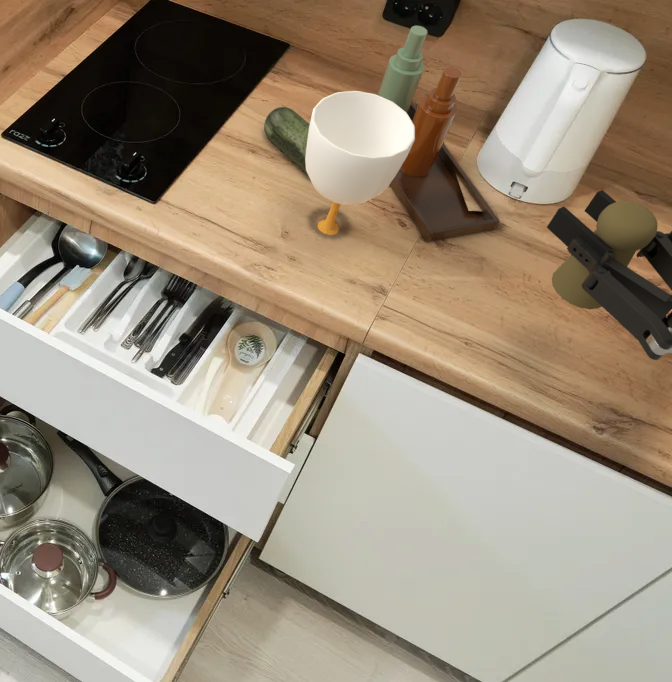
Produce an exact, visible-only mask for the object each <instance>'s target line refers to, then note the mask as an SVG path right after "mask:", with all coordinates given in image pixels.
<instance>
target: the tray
mask: <svg viewBox="0 0 672 682" xmlns="http://www.w3.org/2000/svg"><path fill="white" fill-rule="evenodd" d="M417 107H418V106H417V105H416V104H415V103H414V101H413V100H412V102H411V105H410V107H409V110H408V113H407V114H408V116H409V118H410V119H411V121H412V120H413V117H414V115H415V112H416V110H417ZM458 179H459V180H460V182H461V183H462V184H463V186H464V187H465V189H466V190H467V192H468V193H469V194H470V196H471V197H472V199H474V201H475V203H476V204H477V205H478V206H479V208H480V209H481V210H469V208H468V205H467V202H466V200H465V196H464V194H463V190H462V188H461V184H460V182H459V180H458ZM389 187H390V188H391V190H392V192H393V193H394V194H395V196H396V197H397V198H398V201H399V202H400V203H401V205H402V207H403V208H404V210H405V212H406V213H407V215H408V216H409V217H410V219H411V220H412V222H413V224H414V225H415V227H416V228H417V230H418V231H419V233H420V235H421V236H422V238H423V239H424V241H425V242H426V243H430V242H436V241H441V240H445V239H452V238H457V237H463V236H467V235H472V234H479V233H483V232H489V231H495V230H496V229H497V227H498V226H499V224H500V222H501V220H500V219H499V218H498V216H497V215H496V213H495V212H494V211H493V209H492V208H491V206H490V205H489V204H488V203H487V201H486V200H485V198H484V197H483V195H482V194H481V193H480V192H479V190H478V189H477V187H476V186H475V185H474V183H473V182H472V181H471V179H470V178H469V177H468V175H467V173H465V171H464V170H463V168H462V167H461V165H460V164H459V162H458V161H457V160H456V159H455V157H454V155H452V153H451V152H450V150H449V149H448V148H447V146H446V145H445V144H444V143H443V144H442V146H441V148H440V151H439V153H438V155H437V157H436V160H435V162H434V164H433V166H432V168H431V171H430V172H429V174H427V175H426V176H423V177H413V176H409V175H407V174H405V173H403V172H402V171H401V170H400V169H399V171H398V173H397V174H396V176H395V177H394V179H393V180H392V181H391V183H390V184H389Z"/></svg>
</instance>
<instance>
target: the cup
mask: <svg viewBox="0 0 672 682" xmlns="http://www.w3.org/2000/svg"><path fill="white" fill-rule="evenodd" d="M309 124H310V125H309V131H308V139H307V147H306V156H305V163H306V171H307V173H308V175H307V176H308V177H309V178H308V179H309V180H310V182H311V184H312V186H313V188H314V190H315V191H317V193H318V194H320V195H321V196H322V198H325V199H326V200H329V201H331V206H330V209H329V211H328V214H327V216H326V218H325V219H321V220H320V221H318V223H317V228H318V230H319V231H320V232H321V233H322V234H324V235H328V236H332V235H336V234H337V233H338V232H339V230H340V227H339V225H338V224H337V222H336V220H337V216H338V212H339V209H340V207H341V205H345V206H354V205H362V204H364V203H367V202H369V201H370V200H373V199H375V198H377V197H378V196H380V195H382V194H383V193H384V192H385V190H386V189H387V188H388V187H390V185H389V184H390V183H391V181H392V180H393V179H394V177H395V176H396V174H397V173H398V171H399V169H400V168H401V166H402V164H403V162H404V161H405V159H406V157H407V155H408V153H409V151H410V149H411V147H412V145H413V143H414V141H415V126H414V124H413V123H412V121H411V119H410V118H409V116H408V114H407V113H406V112H405V111H404V110H402V109H401V108H400V107H399V106H397V105H396V104H395V103H394V102H392V101H390V100H387V99H385V98H383V97H380V96H378V95H377V94H376V93H370V92H365V91H358V90H348V91H337V92H334V93H332V94H330V95H327V96H325V97H323V98H321V100H319V101H318V103H317V104H316V105H315V106H314V108H312V113H311V117H310V121H309Z"/></svg>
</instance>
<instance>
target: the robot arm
mask: <svg viewBox="0 0 672 682" xmlns="http://www.w3.org/2000/svg"><path fill="white" fill-rule="evenodd" d="M615 202H617V201H616V200H615V199H614V198H613V197H611V196H610V194H608V193H607V192H605V191H604V190H603V189H601V190H598V191H597V192H596V193H595V195H594V196H593V198H592V199H591V200H590V202H589V203H588V205H587V206H586V207H585V209H584V212H585V213H586V214H587V215H588V216H589V217H591V218H592V220H594V221H595V222H596V223H597V221H598V218H599V215H600V214H601V212H602V211H603V210H604V209H605V208H606V207H607V206H609V205H610V204H613V203H615ZM546 228H547V230H548V231H549V232H551V233H552V234H553V235H554V236H555V237H556V238H557V239H558V240H559V241H561V243H563V244H564V245H565V246H566V249H567V251H568V253H569V254H570V256H571V255H573V256H574V257H575V258H576V259H577V260H578V261H579V262H580V263H581V264H582V265H583V266H585V267H586V268H587V269H588V271H589V275H588V276H587V278H586V279H585V280H584V282H583V283H582V285H581V286H582V288H583V289H584V290H585V291H586V292H587V293H588V294H589V295H590V296H591V297H592V298H593V299H594V300H595V301H597V302H598V303H599V304H600V305H601V306H602V307H601V308H603V309H604V310H605V311H606V312H607V313H608V314H609V315H610V316H611V317H612V318H614V319H615V321H617V322H618V323H619V324H620V325H621V326H622V327H623V328H624V329H625V330H626V331H627V332H628V333H630V334H631V336H633V337H634V338H635V339H636V340H637V341H638V342H639V344H640V345H641V347H642V349H643V350H644V352H645V354H646V356H647V357H648V358H650V359H651V360H654V361H658V360H660V359H661V358H662V357H663V356H664V355H666V354H672V294H670V293H669V292H667V291H666V290H663V289H662V288H660V287H659V286H658V285H656V284H654V283H652V282H651V281H650V280H648V279H646V278H645V277H644V276H642V275H640V274H639V273H637V272H636V271H634V270H633V269H631V268H629V267H628V266H627V267H626V266H625V265H623V264H621V263H620V262H618V261H617V260H615V259H614V258H612V255H613V254H614V253H615V251H613V249H612V248H611V247H609V246H608V245H607V244H606V243H605V242H604V241H603V240H602V239H600V238H599V237H598V236H597V235H596V234H595V233H594V231H592V229H591V228H589V226H587V225H586V224H585V223H584V222H582V221H581V220H580V219H579V218H578V217H577V216H576V215H575V214H573V212H572V211H570V210H569V209H568V208H567V207H565V206H561V207H559V208H558V209H557V210H556V212H555V213H554V215H553V217H551V220H550V221H549V222H548V224H547V226H546ZM635 254H636V258H637V259H639V258H645V259H646V260H647V262H648V263H649V264H650V266H651V267H652V268H653V269H654V270H655V272H656V273H657V274H658V275H659V276H660V278H661V279H662V280H663V282H664V283H665V284H666V286H667V287H668V288H669V289H670V291H672V230H671V231H670V232H667V233H664V232H663V231H660V230H657V232H656V235H655V237H654V238H653V239H652V240H651V242H650V243H649V244H648V245H647V246H645V247H644V248H642V249H640V250H638V252H636V253H635ZM608 271H610V273H609V272H608Z"/></svg>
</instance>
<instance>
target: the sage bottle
mask: <svg viewBox="0 0 672 682" xmlns="http://www.w3.org/2000/svg"><path fill="white" fill-rule="evenodd" d="M427 36H428V29H426V27H424V26H421V25H413V26H411V27H410V30H409V32H408V35H407V38H406V41H405V44H404V46H402V47H400V48H398V50H397V52H396V53H395V54H393V55H391V56H390V57H389V60H388V62H387V65H386V68H385V71H384V74H383V76H382V78H381V79H382V80H381V83H380V85H379V88H378V91H377V94H376V95H378V96H380V97H383V98H385V99H387V100H390V101H392V102H394V103H395V104H396V105H397V106H399V107H400V108H401V109H402V110H404V111H405V112H406V113H408V110H409V107H410V105H411V102H412V101H413V99H414V97H415V95H416V92H417V90H418V86H419V85H420V81H421V79H422V78H423V77H422V76H423V73H424V72H425V68H426V67H425V64H424V62H423V59H424V54H423V52H422V49H423V47H424V43H425V41H426V38H427Z"/></svg>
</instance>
